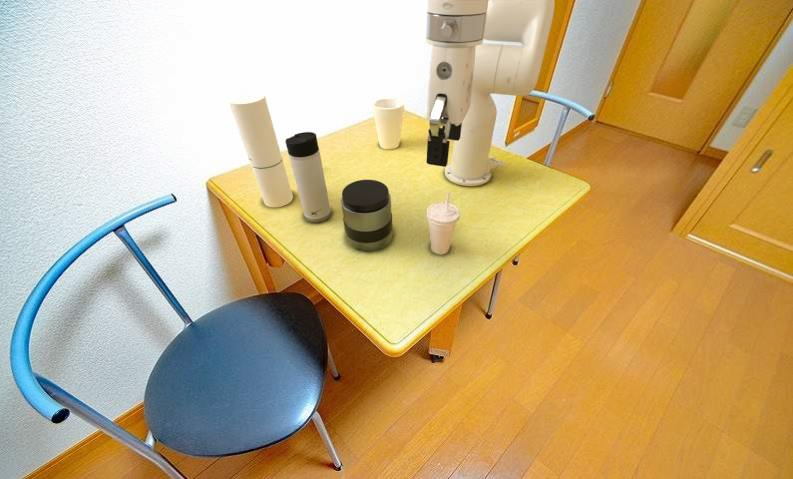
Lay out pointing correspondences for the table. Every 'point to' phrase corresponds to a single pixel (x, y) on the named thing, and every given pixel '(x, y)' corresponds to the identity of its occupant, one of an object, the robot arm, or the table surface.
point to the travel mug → (309, 176)
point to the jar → (367, 215)
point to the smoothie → (442, 224)
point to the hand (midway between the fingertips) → (444, 151)
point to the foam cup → (388, 121)
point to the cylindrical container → (261, 147)
